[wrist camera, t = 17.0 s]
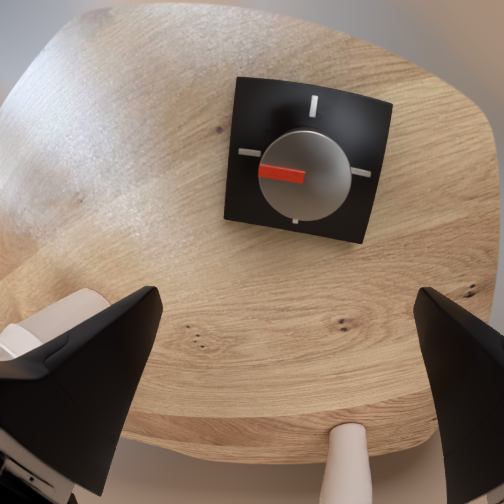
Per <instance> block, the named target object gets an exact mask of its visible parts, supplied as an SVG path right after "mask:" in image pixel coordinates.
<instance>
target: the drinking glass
mask: <svg viewBox="0 0 504 504" xmlns="http://www.w3.org/2000/svg"><path fill="white" fill-rule="evenodd" d="M319 504H372V483H371V474H370V465H369V457H368V449H367V441H366V429H365V427H364V426H363V425H361V424H357V423H346V424H341V425H338V426H336V427H334V428H333V429H332V430H331V431H330V435H329V447H328V454H327V461H326V468H325V472H324V478H323V483H322V488H321V493H320V499H319Z"/></svg>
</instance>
